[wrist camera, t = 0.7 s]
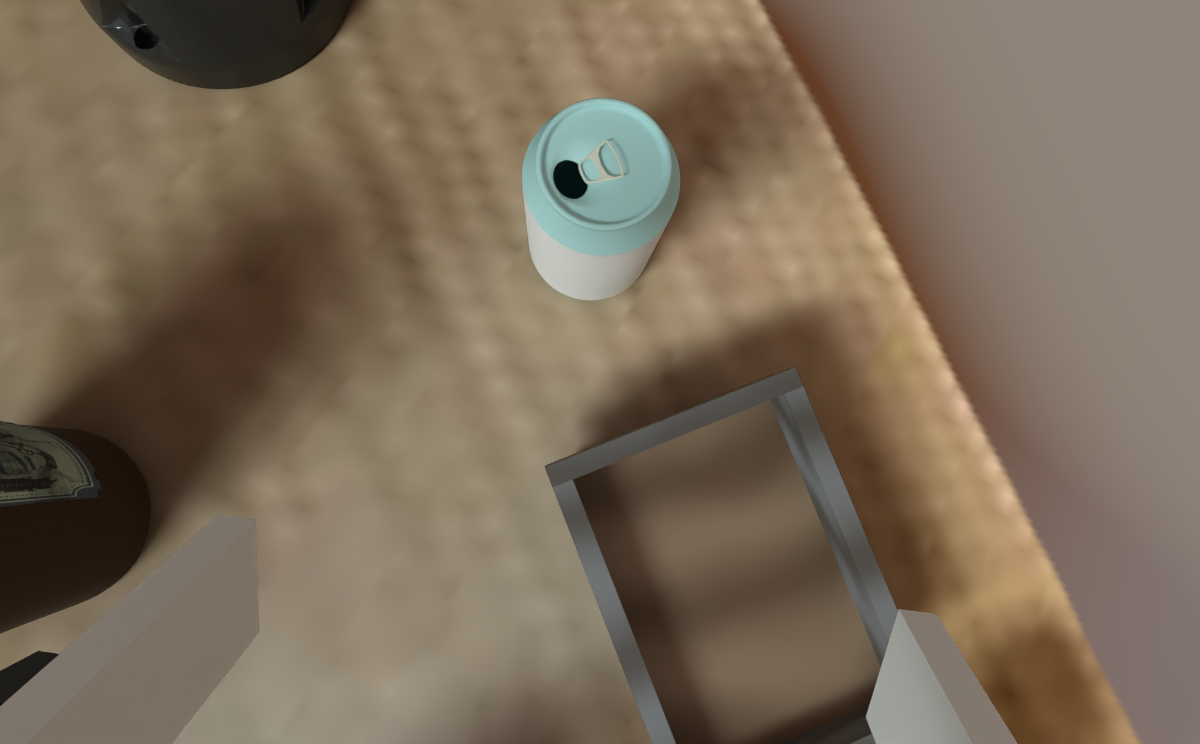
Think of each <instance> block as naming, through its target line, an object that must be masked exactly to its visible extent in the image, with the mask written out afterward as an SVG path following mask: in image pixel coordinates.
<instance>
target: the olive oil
mask: <svg viewBox="0 0 1200 744" xmlns="http://www.w3.org/2000/svg"><path fill="white" fill-rule="evenodd" d="M149 516H150V506H149V497H148V492H147V488H146V485H145V482H144V480H143V477H142V475H141V473H140V472H139V470H138V468H137V467H136V465H135V464H134V462H133V461H132V460H131V459H130V458H129V456H128V455H127V454H126V453H125V452H124V451H122V450H121V449H120V448H119V447H117V446H116V445H115V444H113V443H111V442H110V441H108V440H106V439H104V438H102V437H100V436H97V435H94V434H91V433H88V432H84V431H79V430H71V429H61V428H47V427H34V426H25V425H17V424H13V423H7V422H3V421H0V633H3V632H5V631H8V630H10V629H13V628H15V627H18V626H21V625H23V624H26V623H29V622H31V621H34V620H37V619H39V618H42V617H45V616H47V615H50V614H53V613H55V612H58V611H61V610H63V609H66V608H69V607H71V606H74V605H76V604H79V603H81V602H84V601H86V600H88V599H91V598H93V597H95V596H97V595H98V594H100V593H102V592H103V591H105V590H106V589H108V588H109V587H110V586H112V585H113V584H114V583H115V582H117V581H118V580H119V579H120V578H121V577H122V576H123V575H124V574H125V573H126V571H127V570H128V569H129V568H130V566H131V565H132V564H133V562H134V561H135V559H136V558H137V556H138V554H139V552H140V550H141V548H142V546H143V543H144V541H145V538H146V534H147V530H148V525H149Z"/></svg>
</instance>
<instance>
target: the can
mask: <svg viewBox="0 0 1200 744" xmlns="http://www.w3.org/2000/svg"><path fill="white" fill-rule="evenodd" d="M522 186H523V195H524V204H525V213H526V222H527V231H528V240H529V248H530V254H531V257H532V260H533V263H534V265H535V267H536V269H537V270H538V272H539V274H540V275H541V276H542V277H543V279H544V280H545V281H546V282H547V283H548V284H549V285H550V286H552V287H553V288H554V289H556V290H557V291H559V292H561V293H562V294H564V295H567V296H569V297H572V298H576V299H580V300H601V299H606V298H610V297H612V296H615V295H617V294H619V293H621V292H623V291H624V290H626V289H627V288H628V287H630V286H631V285H632V284H633V283H634V282H635V281H636V280H637V279H638V278H639V276H640V275H641V273H642V272H643V270H644V268H645V266H646V264H647V262H648V260H649V259H650V257H651V255H652V253H653V251H654V249H655V247H656V245H657V243H658V241H659V239H660V237H661V235H662V234H663V232H664V230H665V228H666V226H667V224H668V222H669V220H670V218H671V216H672V214H673V212H674V210H675V208H676V205H677V202H678V198H679V193H680V169H679V164H678V161H677V157H676V154H675V152H674V149H673V147H672V145H671V143H670V141H669V140H668V138H667V137H666V135H665V134H664V133H663V131H662V130H661V128H660V127H659V125H658V124H657V123H656V122H655V121H654V120H653V119H652V118H651V117H650V116H649V115H648V114H647V113H646V112H644V111H643V110H641V109H640V108H638V107H636V106H634V105H632V104H630V103H628V102H625V101H622V100H617V99H612V98H593V99H587V100H583V101H580V102H577V103H575V104H573V105H570V106H569V107H567V108H565V109H564V110H562V111H561V112H559V113H557V114H556V115H554V116H553V117H552V118H550V119H549V120H548V121H547V122H546V123H545V124H544V125H543V126H542V127H541V128H540V129H539V130H538V132H537V133H536V135H535V136H534V137H533V139H532V141H531V143H530V145H529V147H528V149H527V152H526V155H525V158H524V162H523V169H522Z"/></svg>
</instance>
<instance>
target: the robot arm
mask: <svg viewBox="0 0 1200 744" xmlns="http://www.w3.org/2000/svg"><path fill="white" fill-rule="evenodd" d="M80 1H81V3H82V4H83V6H84V7H85V9H86V10H87V12H88V13H89V14H90V16H91V17H92V18H93V20H94V21H95V22H96V23H97V24H98V26H99V27H100V28H101V29H102V30H103V31H104V32H105V33H106V34H107V35H108V36H109V37H110V38H111V39H112V40H113V41H115V42H116V43H117V44H118V45H119V46H120V47H121V48H122V49H123V50H124V51H125V52H126V53H127V54H129V55H130V56H131V57H132V58H133V59H134V60H136V61H137V62H139V63H140V64H141V65H143V66H144V67H146V68H148V69H149V70H151V71H153V72H155V73H156V74H158V75H160V76H163V77H165V78H167V79H170V80H173V81H175V82H178V83H182V84H186V85H190V86H195V87H201V88H209V89H234V88H243V87H249V86H254V85H258V84H262V83H265V82H268V81H271V80H274V79H276V78H279V77H281V76H283V75H285V74H287V73H289V72H291V71H293V70H295V69H296V68H298V67H299V66H301V65H303V64H304V63H305V62H307V61H308V60H309V59H311V58H312V57H313V56H314V55H315V54H316V53H318V52H319V51H320V50H321V49H322V48H323V47H324V46H325V44H326V43H327V42H328V41H329V40H330V39H331V37H332V36H333V35H334V33H335V32H336V30H337V29H338V27H339V25H340V24H341V22H342V20H343V18H344V16H345V14H346V12H347V9H348V7H349V4H350V1H351V0H80ZM258 633H259V606H258V579H257V551H256V524H255V519H248V518H241V517H234V516H226V515H219V514H218V515H217V516H216V517H215V518H214V519H213V520H211V521H210V522H209V523H208V524H207V525H206V526H205V527H203V528H202V529H201V530H200V531H199V532H198V533H197V534H196V535H194V536H193V537H192V538H191V539H190V540H189V541H188V542H186V543H185V544H184V545H183V546H182V547H181V548H180V549H178V550H177V551H176V552H175V553H174V554H173V555H172V556H170V557H169V558H168V559H167V560H166V561H165V562H164V563H163V564H161V565H160V566H159V567H158V568H157V569H156V570H155V571H153V572H152V573H151V574H150V575H149V576H148V577H147V578H145V579H144V580H143V581H142V582H141V583H140V584H139V585H138V586H136V587H135V588H134V589H133V590H132V591H131V592H130V593H128V594H127V595H126V596H125V597H124V598H123V599H122V600H120V601H119V602H118V603H117V604H116V605H115V606H114V607H113V608H111V609H110V610H109V611H108V612H107V613H106V614H105V615H103V616H102V617H101V618H100V619H99V620H98V621H97V622H95V623H94V624H93V625H92V626H91V627H90V628H89V629H88V630H86V631H85V632H84V633H83V634H82V635H81V636H80V637H78V638H77V639H76V640H75V641H74V642H73V643H72V644H70V645H69V646H68V647H67V648H66V649H65V650H64V651H63V652H61V653H60V654H56V653H49V652H42V651H38V652H36V653H34V654H32V655H30V656H28V657H26V658H24V659H22V660H20V661H18V662H17V663H15V664H13V665H11V666H9V667H7V668H5V669H3V670H1V671H0V744H172V743H173V741H174V740H175V739H176V738H177V736H178V735H179V734H180V732H181V731H182V730H183V729H184V727H185V726H186V725H187V723H188V722H189V721H190V720H191V718H192V717H193V716H194V714H195V713H196V712H197V711H198V709H199V708H200V707H201V706H202V704H203V703H204V702H205V700H206V699H207V698H208V697H209V695H210V694H211V693H212V691H213V690H214V689H215V688H216V686H217V685H218V684H219V683H220V681H221V680H222V679H223V677H224V676H225V675H226V674H227V672H228V671H229V670H230V668H231V667H232V666H233V665H234V663H235V662H236V661H237V659H238V658H239V657H240V656H241V654H242V653H243V652H244V651H245V649H246V648H247V647H248V645H249V644H250V643H251V642H252V640H253V639H254V638H255V636H256V635H257V634H258ZM866 719H867V722H868V724H869V727H870V729H871V732H872V734H873V737H874V740H875V742H876V744H1017V742H1016V740H1015V739H1014V737H1013V735H1012V734H1011V732H1010V731H1009V729H1008V727H1007V726H1006V724H1005V723H1004V721H1003V719H1002V718H1001V716H1000V715H999V713H998V711H997V710H996V708H995V707H994V705H993V703H992V702H991V700H990V699H989V697H988V695H987V694H986V692H985V691H984V689H983V687H982V686H981V684H980V683H979V681H978V679H977V678H976V676H975V675H974V673H973V671H972V670H971V668H970V667H969V665H968V663H967V662H966V660H965V658H964V657H963V655H962V654H961V652H960V650H959V649H958V647H957V646H956V644H955V642H954V641H953V639H952V638H951V636H950V634H949V633H948V631H947V630H946V628H945V626H944V625H943V623H942V622H941V620H940V618H939V617H938V615H937V614H932V613H925V612H918V611H910V610H903V609H899V610H898V613H897V616H896V620H895V623H894V626H893V629H892V633H891V636H890V639H889V643H888V646H887V649H886V652H885V656H884V659H883V662H882V666H881V669H880V672H879V675H878V679H877V682H876V685H875V688H874V692H873V695H872V698H871V702H870V705H869V708H868V711H867V715H866Z"/></svg>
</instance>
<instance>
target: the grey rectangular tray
mask: <svg viewBox="0 0 1200 744" xmlns="http://www.w3.org/2000/svg"><path fill="white" fill-rule="evenodd" d="M545 469H546V472H547V474H548V477H549V479H550V482H551V484H552V487H553V490H554V492H555V495H556V497H557V500H558V502H559V505H560V508H561V510H562V513H563V515H564V518H565V520H566V523H567V526H568V528H569V531H570V533H571V536H572V539H573V541H574V544H575V546H576V549H577V551H578V554H579V557H580V559H581V562H582V564H583V567H584V569H585V572H586V575H587V577H588V580H589V582H590V585H591V588H592V590H593V593H594V595H595V598H596V600H597V603H598V606H599V608H600V611H601V613H602V616H603V618H604V621H605V624H606V626H607V629H608V631H609V634H610V637H611V639H612V642H613V644H614V647H615V649H616V652H617V655H618V657H619V660H620V662H621V665H622V667H623V670H624V673H625V675H626V678H627V680H628V683H629V686H630V688H631V691H632V693H633V696H634V698H635V701H636V704H637V706H638V709H639V711H640V714H641V716H642V719H643V722H644V724H645V727H646V729H647V732H648V734H649V737H650V740H651V742H652V744H876V742H875V740H874V737H873V734H872V732H871V729H870V727H869V724H868V722H867V719H866V715H867V711H868V708H869V705H870V702H871V698H872V695H873V692H874V688H875V685H876V682H877V679H878V675H879V672H880V669H881V666H882V662H883V659H884V656H885V652H886V649H887V646H888V643H889V639H890V636H891V633H892V629H893V626H894V623H895V620H896V616H897V613H898V611H897V608H896V606H895V603H894V601H893V599H892V596H891V594H890V592H889V589H888V587H887V584H886V582H885V580H884V577H883V575H882V572H881V570H880V568H879V565H878V563H877V561H876V558H875V556H874V553H873V551H872V549H871V546H870V544H869V542H868V539H867V537H866V534H865V532H864V530H863V527H862V525H861V522H860V520H859V518H858V515H857V513H856V511H855V508H854V506H853V503H852V501H851V499H850V496H849V494H848V492H847V489H846V487H845V484H844V482H843V480H842V477H841V475H840V472H839V470H838V468H837V465H836V463H835V461H834V458H833V456H832V453H831V451H830V449H829V446H828V444H827V442H826V439H825V437H824V434H823V432H822V430H821V427H820V425H819V422H818V420H817V418H816V415H815V413H814V411H813V408H812V406H811V403H810V401H809V399H808V396H807V394H806V392H805V389H804V387H803V384H802V382H801V380H800V377H799V375H798V372H797V370H796V368H795V367H794V368H791V369H788V370H785V371H782V372H779V373H776V374H773V375H770V376H767V377H765V378H762V379H760V380H757V381H755V382H752V383H750V384H747V385H745V386H742V387H740V388H737V389H735V390H732V391H730V392H727V393H725V394H722V395H720V396H717V397H715V398H712V399H710V400H707V401H705V402H702V403H700V404H697V405H695V406H692V407H690V408H688V409H685V410H683V411H680V412H678V413H675V414H673V415H670V416H668V417H665V418H663V419H660V420H658V421H655V422H653V423H650V424H648V425H645V426H643V427H640V428H638V429H635V430H633V431H630V432H628V433H625V434H623V435H620V436H618V437H615V438H613V439H610V440H608V441H605V442H603V443H600V444H598V445H595V446H593V447H590V448H588V449H585V450H583V451H580V452H578V453H575V454H573V455H570V456H568V457H565V458H563V459H560V460H558V461H555V462H553V463H550V464H548V465H546V466H545Z"/></svg>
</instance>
